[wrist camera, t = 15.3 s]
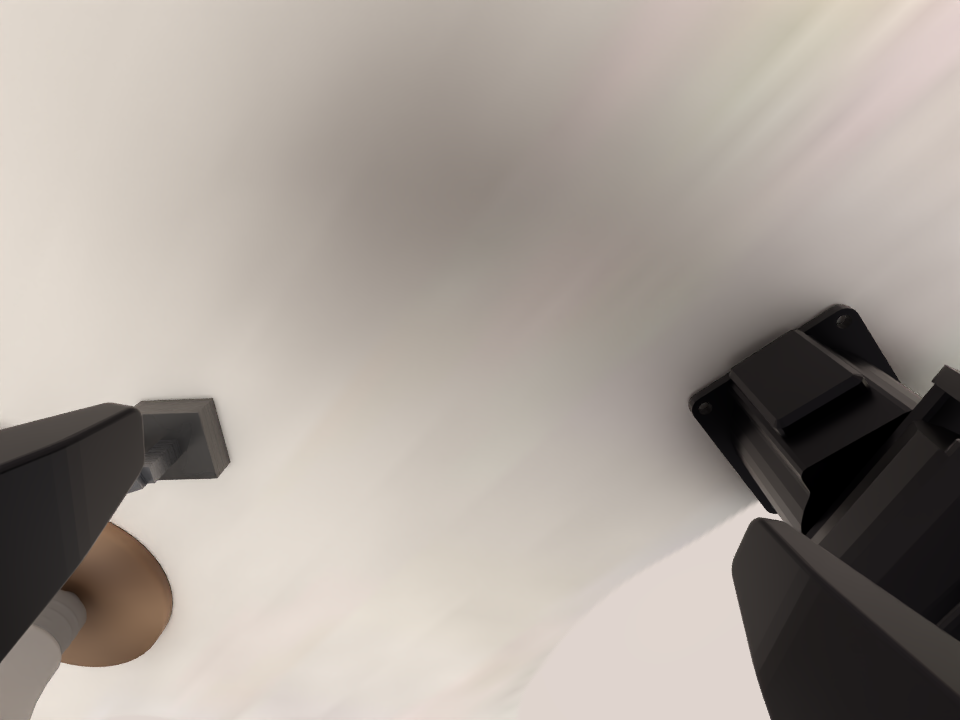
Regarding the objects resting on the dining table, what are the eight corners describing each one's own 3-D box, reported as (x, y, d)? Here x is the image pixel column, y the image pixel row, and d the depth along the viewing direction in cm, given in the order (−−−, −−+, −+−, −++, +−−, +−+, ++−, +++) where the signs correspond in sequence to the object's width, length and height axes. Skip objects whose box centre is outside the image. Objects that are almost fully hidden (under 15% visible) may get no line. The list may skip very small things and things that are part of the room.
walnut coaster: (210, 598, 27) (202, 611, 26) (99, 677, 29) (89, 692, 29) (50, 472, 24) (35, 483, 24) (-56, 570, 27) (-72, 583, 26)
